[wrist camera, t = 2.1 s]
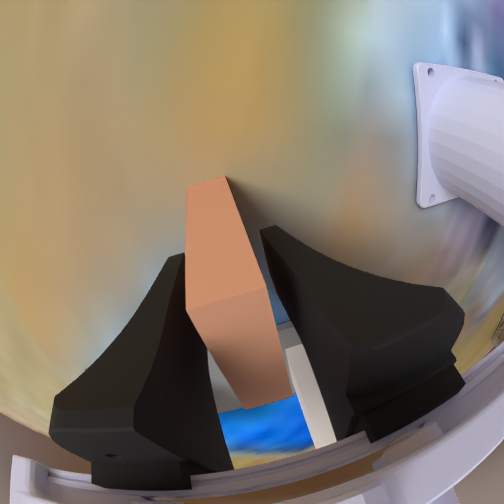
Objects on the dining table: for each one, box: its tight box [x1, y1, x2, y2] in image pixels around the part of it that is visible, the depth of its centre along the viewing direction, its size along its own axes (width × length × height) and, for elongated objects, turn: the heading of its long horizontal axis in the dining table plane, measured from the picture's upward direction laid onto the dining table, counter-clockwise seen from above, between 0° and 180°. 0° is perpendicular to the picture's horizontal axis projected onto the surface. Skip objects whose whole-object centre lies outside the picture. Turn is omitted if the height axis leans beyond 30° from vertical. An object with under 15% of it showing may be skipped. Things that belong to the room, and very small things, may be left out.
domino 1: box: [185, 176, 293, 410], centre depth 10 cm, size 2×5×7 cm, turn 13°
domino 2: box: [285, 344, 337, 449], centre depth 16 cm, size 2×5×7 cm, turn 13°
